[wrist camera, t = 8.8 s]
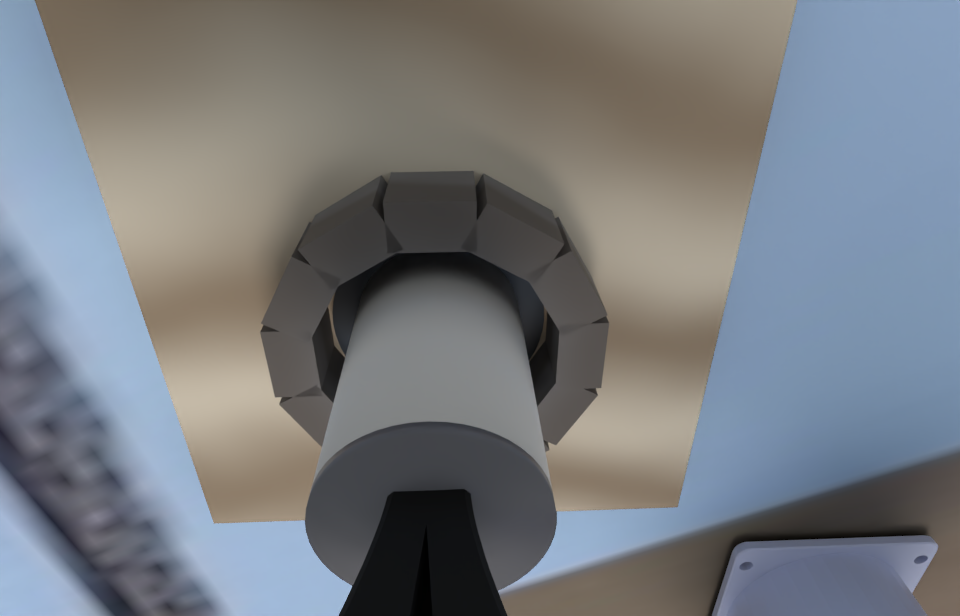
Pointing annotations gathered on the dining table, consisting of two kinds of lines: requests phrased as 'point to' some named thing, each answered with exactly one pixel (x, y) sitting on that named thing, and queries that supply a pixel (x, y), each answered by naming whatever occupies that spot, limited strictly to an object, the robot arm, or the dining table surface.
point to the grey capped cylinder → (435, 415)
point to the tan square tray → (426, 205)
